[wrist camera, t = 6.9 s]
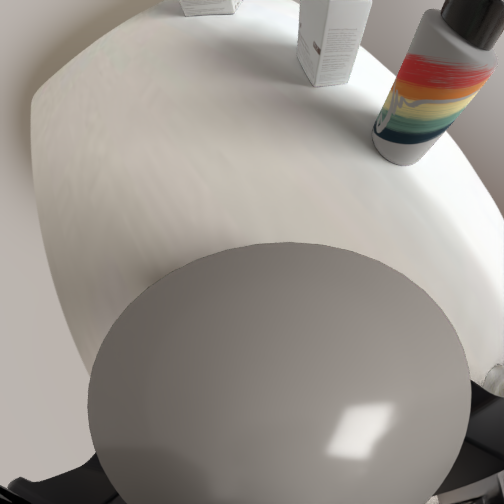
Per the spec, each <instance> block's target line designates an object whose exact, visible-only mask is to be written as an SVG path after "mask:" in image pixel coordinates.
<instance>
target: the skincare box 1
mask: <svg viewBox="0 0 504 504" xmlns="http://www.w3.org/2000/svg"><path fill="white" fill-rule="evenodd" d="M242 1H243V0H179V2H180V4H181V7H182V9H183V12H184V14H185V16H196V15H210V14H234V13H235V12H236V10H237V8H238V7H239V5H240V4H241V2H242Z"/></svg>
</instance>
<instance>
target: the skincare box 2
mask: <svg viewBox="0 0 504 504" xmlns="http://www.w3.org/2000/svg"><path fill="white" fill-rule="evenodd" d="M371 5H372V1H371V0H300V12H299V30H298V44H297V57H298V59H299V61H300V63H301V65H302V67H303V69H304V71H305V73H306V75H307V77H308V78H309V80H310V82H311V84H312V85H313V86H314V87H321V86H331V85H339V84H346V83H348V81H349V78H350V75H351V71H352V68H353V65H354V62H355V59H356V55H357V52H358V49H359V45H360V42H361V39H362V35H363V32H364V28H365V25H366V22H367V18H368V15H369V11H370V8H371Z"/></svg>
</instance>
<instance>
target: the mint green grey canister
mask: <svg viewBox="0 0 504 504" xmlns="http://www.w3.org/2000/svg"><path fill="white" fill-rule="evenodd" d="M470 408H471V382H470V372H469V367H468V363H467V359H466V356H465V352H464V349H463V346H462V344H461V342H460V339H459V337H458V335H457V333H456V331H455V329H454V327H453V325H452V324H451V322H450V321H449V319H448V318H447V316H446V315H445V313H444V312H443V310H442V309H441V308H440V307H439V306H438V305H437V304H436V302H435V301H434V300H433V299H432V298H431V297H430V296H429V295H428V294H427V293H426V292H425V291H424V290H423V289H422V288H420V287H419V286H418V285H416V284H415V283H414V282H413V281H411V280H410V279H409V278H407V277H406V276H405V275H403V274H402V273H400V272H398V271H396V270H394V269H392V268H391V267H389V266H387V265H385V264H383V263H381V262H380V261H377V260H374V259H372V258H369V257H366V256H364V255H361V254H358V253H355V252H353V251H349V250H344V249H340V248H335V247H330V246H326V245H320V244H307V243H294V242H284V243H266V244H255V245H250V246H245V247H239V248H234V249H229V250H225V251H222V252H219V253H216V254H213V255H210V256H207V257H203V258H200V259H198V260H195V261H193V262H191V263H189V264H187V265H185V266H183V267H181V268H179V269H177V270H175V271H173V272H171V273H169V274H168V275H166V276H165V277H163V278H162V279H160V280H159V281H157V282H156V283H154V284H153V285H152V286H150V287H149V288H147V289H146V290H145V291H144V292H143V293H142V294H141V295H140V296H138V297H137V298H136V299H135V300H134V301H133V302H132V303H131V304H130V305H129V306H128V307H127V308H126V309H125V310H124V312H123V313H122V314H121V315H120V317H119V318H118V319H117V320H116V322H115V323H114V324H113V326H112V327H111V329H110V331H109V332H108V334H107V336H106V337H105V339H104V341H103V343H102V344H101V347H100V349H99V352H98V354H97V357H96V360H95V362H94V365H93V369H92V373H91V378H90V383H89V390H88V419H89V428H90V432H91V436H92V440H93V445H94V448H95V451H96V453H97V456H98V458H99V461H100V463H101V466H102V468H103V469H104V471H105V473H106V475H107V477H108V478H109V480H110V482H111V484H112V485H113V486H114V488H115V489H116V491H117V492H118V493H119V495H120V496H121V497H122V499H123V500H124V501H125V502H126V503H127V504H425V503H426V502H427V501H428V500H429V499H430V498H431V497H432V495H433V494H434V493H435V492H436V491H437V489H438V488H439V487H440V485H441V484H442V482H443V481H444V479H445V478H446V476H447V475H448V473H449V472H450V470H451V468H452V466H453V464H454V462H455V460H456V458H457V456H458V454H459V452H460V449H461V446H462V444H463V441H464V438H465V435H466V431H467V426H468V422H469V416H470Z"/></svg>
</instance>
